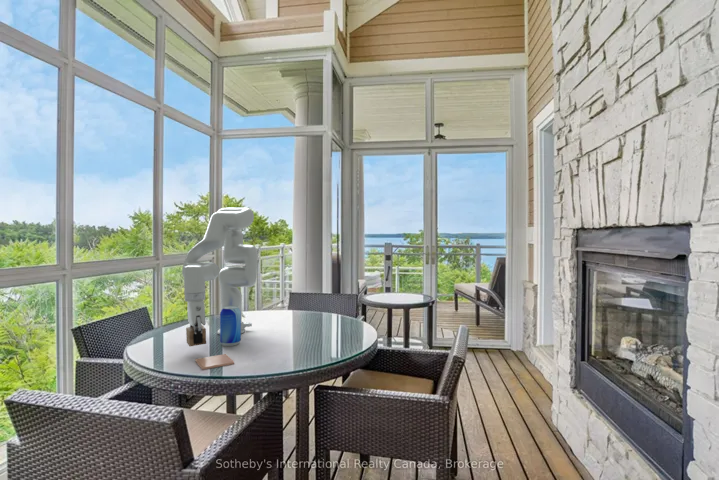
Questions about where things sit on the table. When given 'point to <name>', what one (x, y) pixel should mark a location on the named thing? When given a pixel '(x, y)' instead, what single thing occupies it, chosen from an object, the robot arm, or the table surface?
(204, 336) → the walnut block
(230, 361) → the coaster
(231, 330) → the beer can
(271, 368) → the table surface
